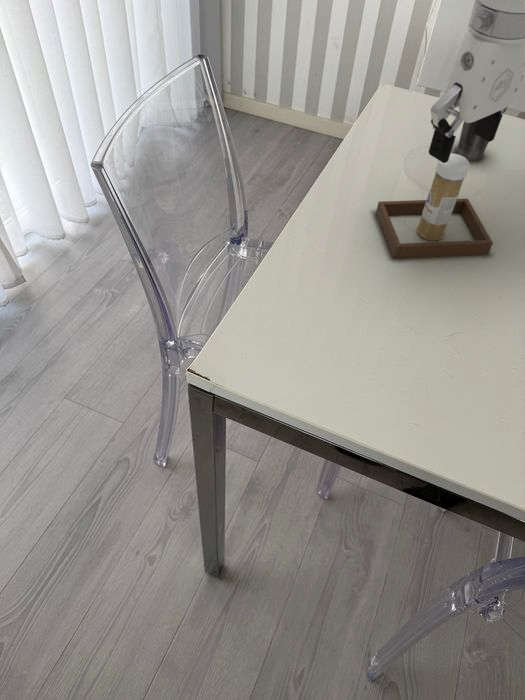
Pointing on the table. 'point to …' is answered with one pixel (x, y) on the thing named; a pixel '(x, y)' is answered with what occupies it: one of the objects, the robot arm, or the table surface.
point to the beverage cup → (471, 142)
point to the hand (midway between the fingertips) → (460, 147)
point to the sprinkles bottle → (442, 197)
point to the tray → (432, 248)
